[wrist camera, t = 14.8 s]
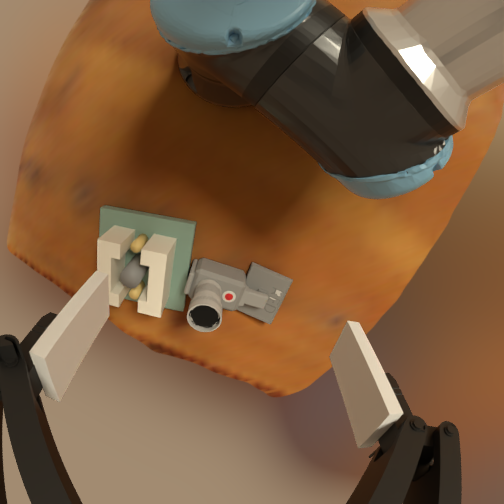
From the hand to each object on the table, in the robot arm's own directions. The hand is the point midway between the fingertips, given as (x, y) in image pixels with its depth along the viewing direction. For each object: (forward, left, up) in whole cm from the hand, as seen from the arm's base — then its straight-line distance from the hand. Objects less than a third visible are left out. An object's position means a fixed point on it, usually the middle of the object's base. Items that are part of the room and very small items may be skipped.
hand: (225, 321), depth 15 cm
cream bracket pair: (+12, -12, -27) cm, 32 cm away
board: (+12, -12, -28) cm, 33 cm away
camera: (+13, +3, -29) cm, 31 cm away
